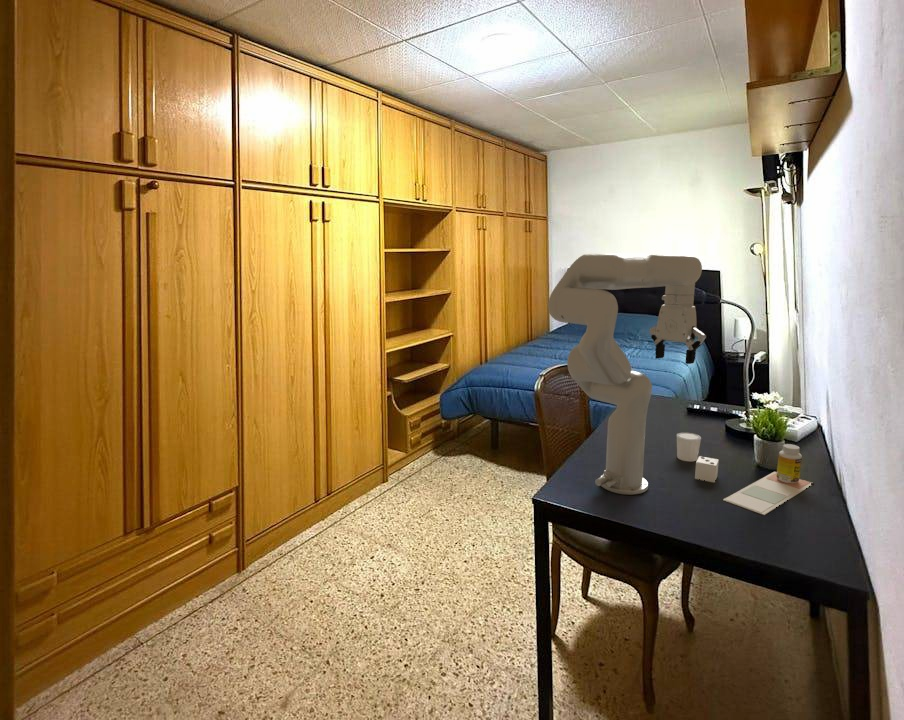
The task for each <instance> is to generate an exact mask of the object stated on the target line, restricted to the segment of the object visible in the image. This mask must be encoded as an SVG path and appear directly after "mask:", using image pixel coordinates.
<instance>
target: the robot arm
mask: <svg viewBox="0 0 904 720" xmlns="http://www.w3.org/2000/svg"><path fill="white" fill-rule="evenodd" d="M702 271H703V266H702V262H701V260H700V259H699V258H698V257H697V256H695V255H689V254H688V255H684V254H682V255H681V254H672V255H671V254H670V255H669V254H668V255H666V254H665V255H664V254H653V253H586V254H582V255H581V256H580V257H578V258H576V260H574V261H573V263H572V264H571V265H570V266H569V267H568V269H567V270H566V272H565V273H564V274H563V276H562V277H561V278H560V280H559V281H558V283H557V284H556V285H555V287H554V288H553V290H552V291H551V294H550V295H549V298H548V303H547V308H548V312H549V315H550V317H551V318H552V319H553V320H555V321H557V322H561V323H567V324H574V325H575V324H576V325H583V326H586V330H585V332H584V334H583V335H582V336H581V339H580V340H579V343H578V344H577V345H575V346H574V347H573V348H572V349H571V350H570V351H569V353H568V356H567V362H566V364H567V371H568V372H569V375H570V377H571V378H572V379H573V381H574V382H575V383H576V385H578V386H579V388H580V389H581V390H582V391H583V392H584V393H585V394H586V395H587V397H589V398H591V399H593V400H595V401H600V402H603V403H607V404H612V405H614V406H616V409H615V410H614V411H613V412H612V414H610V416H609V418H608V420H607V432H606V433H607V438H606V457H605V459H606V460H605V469H604V470H603V474H602V475H600V477H598V478H596V479H595V480H594V484H595V486H597V487H600V486H601V487H602V488H603V489H605V490H607V491H608V492H611V493H615V494H617V495H618V494H620V495H629V496H630V495H631V496H632V495H639V494H643V493H645V492H646V491H647V490H648V489H649V482H648V481H647V479H645V478H644V477H643V476H644V461H645V460H644V459H645V458H644V457H645V442H646V439H645V437H646V428H647V427H646V425H647V424H646V423H647V414H648V407H649V404H650V400H651V397H652V393H653V392H652V391H653V383H652V381H651V379H650V378H649V377H648V376H647V375H645V374H644V373H642V372H639V371H635V370H632V366H631V362H630V360H629V359H628V357H627V356H626V354H625V353H624V352H623V350H622V348H621V347H620V346H619V344H618V343H617V341H616V340H615V338H614V333H615V329H616V328H615V327H616V323H617V318H618V312H619V305H618V301H617V300H618V299H616V297H615V295H614V294H612V293H611V292H609V291H610V290H611V291H613V290H614V291H615V290H616V291H617V290H626V289H641V288H643V289H644V288H659V287H660V288H661V287H665V289H664V290H665V291H664V295H662V296H661V300H662V301H664V304H661V307H660V309H659V313H658V317H657V321H656V323H657V324H656V325H654V326H652V327H650V328H649V330H648V331H649V333H650V335H651V336H650V337H651V339H652V340H653V345H655V353H654V354H655V359H661V358H662V359H663V358H664V357H665V348H666V345H665V342H666V341H667V342H675V343H685V345H686V347H687V349H686V352H685V361H684V362H685V364H686V365H690V364H694V363H695V360H696V353H697V350H699V348H700V347H701V346H702V345H703V343H704V341H705V339H706V338H707V335H706V334H705V333H704V332H703V331H701V330H699V329H698V327H697V311H696V310H697V309H696V306H695V305H694V300H695V288H696V283H697V281H698V280H699V279H700V277H701V275H702V273H703V272H702ZM608 290H609V291H608ZM696 337H697V340H696Z"/></svg>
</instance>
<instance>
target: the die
mask: <svg viewBox="0 0 904 720" xmlns="http://www.w3.org/2000/svg"><path fill="white" fill-rule="evenodd" d="M719 460H720V459H717V458H713V457H707V456H702V455H698V458H697V460H696V462H695V470H694V471H695V473H694V479H695V480H699V479H700V480H699V481H704V480H705V481H704V482H709V483H713V484H714V483H716V481H715V480H717V477H718V472H719V462H720V461H719Z"/></svg>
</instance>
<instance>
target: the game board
mask: <svg viewBox="0 0 904 720" xmlns="http://www.w3.org/2000/svg"><path fill="white" fill-rule="evenodd" d="M776 476H777V471H773V472H771V473H769V474H767V475H765V476H764V477H762V478H759V479H758V480H756V481H754V482H752V483H750V484H748V485H747V486H745V487H743V488H741V489H740V490H738V491H736V492H734V493H733V494H730V495H729V496H727V497H724V498H723V499H722V500H723V502H727V503H729V504H733V505H734V506H738V507H741V508H744V509H746V510H748V511H752V512H755V513H757V514H760V515H763V516H766V515H767V514H768V513H770V512H772V511H773V510H775V509H777V508H778V507H780V506H781V505H783V504H784V502H785V503H786V502H788V501H789V500H791V499H792V498H794V497H796V496H797V495H799V494H800V493H802V492H803V491H806V488H807V489H808V488H810V487H811V486H812V485H811V483H812V482H811V481H808V480H804V479H801V478H799V481H798V482H797V483H794V484H790V483H785V482H782V481H780V480H778V479H777V477H776ZM809 486H810V487H809ZM787 500H788V501H787ZM779 505H780V506H779ZM776 507H777V508H776Z"/></svg>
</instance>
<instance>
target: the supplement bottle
mask: <svg viewBox="0 0 904 720" xmlns="http://www.w3.org/2000/svg"><path fill="white" fill-rule="evenodd" d="M782 446H783V447H782V450H780V451H779V452H778V459H777V460H778V461H777V467H776V472H777V476H776V477H777V479H778V480H780V481H782V482H785V483H790V484H794V483H797V482H798V481H799V479H800V476H801V475H800V474H801V467H802V459H803V455H802V454H801V453H800V446H798V445H795V444H791V443H786V444H785V443H784V444H783V445H782Z"/></svg>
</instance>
